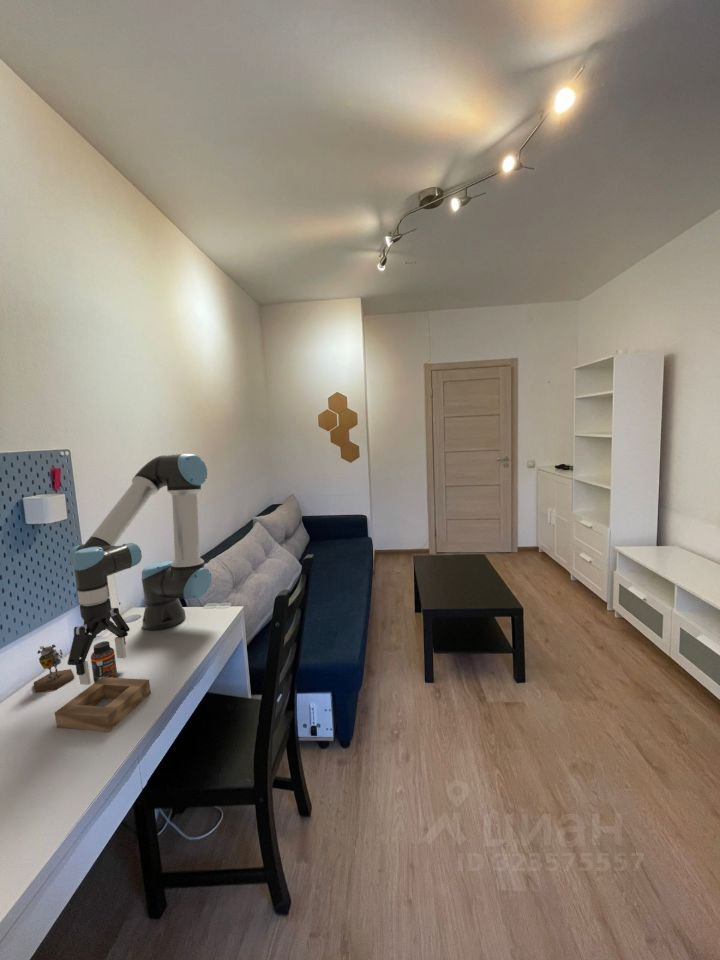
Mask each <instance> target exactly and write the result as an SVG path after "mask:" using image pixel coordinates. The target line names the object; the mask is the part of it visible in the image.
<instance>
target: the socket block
mask: <svg viewBox="0 0 720 960" xmlns="http://www.w3.org/2000/svg"><path fill="white" fill-rule="evenodd" d="M151 690H152V689H151V685H150V679H146V678H145V679H143V678H130V677H129V678H128V677H127V678H126V677H125V678H124V677H117V678H110V677H102V678H101V679H99V680H98V681H97V682H95V683H94V682H93V684H92V683H91V685H89V687H87V688H86V689H84V690H83V691H82V692H80V693H78V694H77V695H76V696H75V697H73V698H72V699H71V700H70V701H68V702H66V704H64V705H63V706H62V707H60V708H59V709H57V710H56V711H55V712H54V717H55V723H56V728H58V729H59V728H61V729H69V730H72V729H73V730H85V731H97V732H105V733H106V732H107V733H108V732H110V731H111V730H113V729H114V728H115V727H116V726H117V725H118V724H119V723H120V722H121V721H122V720H123V719H124V718H126V717H127V716H128V715H129V714H130V713H131V712H132V711H133V710H134V709H135V708H136V707H137V706H139V705H140V704H141V703H142V702H143V701H144V700H145V699H146V698H147V697H148V696H149V695H151V694H152V692H151ZM105 699H112V701H111V702H110V703H107V705H106V706H98V705H99V704H100V703H101V702H103V701H104V700H105ZM113 699H114V700H113Z"/></svg>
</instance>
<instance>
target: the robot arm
mask: <svg viewBox="0 0 720 960" xmlns="http://www.w3.org/2000/svg"><path fill="white" fill-rule="evenodd" d="M207 478H208V469H207V466H206V463H205V461H204V460H203V459H202V458H201V457H200V456H199V455H197V454H193V453H181V454H165V455H159V456H156V457H154V458H152V459H150V460H149V461H148V462H147V463H146V464H144V465H143V466H142V467H141V468H140V469H139V470H138V471H137V472H136V473H135V475H134V476H133V477H132V479H131V485H130V486H129V487H128V489H127V490H126V491H125V492H124V493H123V495H122V496H121V497H120V498H119V500H118V501H117V502H116V504H115V505H114V506H113V508H112V509H111V510H110V511H109V513H108V514H107V515H106V517H105V518H104V519H103V520H102V521H101V523H100V524H99V525H98V527H96V529H95V530H94V532H93V533H92V534H91V535H90V536H89V538H88V539H87V541H85V543H84V544H79V545H76V546H74V547H73V548H72V549H71V550H70V552H69V554H68V560H69V563H70V564H71V565H72V568H73V573H74V576H75V577H74V578H75V583H76V591H77V596H78V602H79V604H80V606H79V612H80V617H81V619H82V620H83V624H82V625H81V626H75V627H74V628H73V639H72V644H71V648H70V651H69V656H68V660H67V665H68V666H75V669H76V675H77V676H78V678H79V684H80V685H88V686H90V684H92V683H91V677H90V676H91V675H90V669H89V662H88V661H87V660H86V659H87V656H88V654H89V652H90V649H91V647H92V644H93V641H94V639H96V637H97V635H99V634H100V633H101V632H103V631H106V630H107V631H109V632H111V633H112V634H113V635H114V636H115V637H114V645H115V651H116V658H117V659H126V658H127V652H126V645H127V643H126V642H127V641H126V637H127V636H128V635H129V633H128V632H130V631H131V630H130V629H131V628H130V627H129V625H128V624H127V622H126V620H125V619H124V618H123V616H122V615H121V613H120V610H119V607H112V604H111V599H110V596H111V595H110V590H109V582H108V577H109V576H111V575H114V574H117V573H119V572H122V571H125V570H128V569H131V568H132V567H135V566H137V565H138V564H139V563H141V560H142V558H143V554H142V550H141V548H140V546H139V545H138V544H136V543H134V542H129V543H123V544H121V545H116V544H117V543H118V542H119V540H120V539H121V538H122V536H123V534H124V533H125V532H126V530H127V529H128V528H129V526H130V525H131V524H132V523H133V521H134V520H135V518H136V517H137V515H138V514H139V513H140V511H141V510H142V509H143V507H144V506H145V505H146V503H147V502H148V500H149V499H150V498H151V496H153V495H156V494H157V493H158V492H159V491H160V489H162V488H163V487H166V488H167V492H168V493H169V494H170V495H171V499H172V500H171V501H172V519H173V543H174V545H173V546H174V560H165V561H161V562H156V563H153V564H151V565H148V566H146V567H144V568H143V569H142V571H141V583H142V590H143V596H144V602H145V607H144V612H143V618H142V628H143V629H144V630H147V631H160V630H165V629H169V628H171V627H174V626H177V625H178V624H181V623H183V621H185V619H186V616H187V615H186V610H185V609H184V607H183V604H182V603H181V600H187V601H191V600H199V599H201V598H203V597H204V596H205V595H206V594H207V593H208V590H209V589H210V588H211V585H212V580H213V579H212V577H213V576H212V572H211V571H210V569H209V568H207V567H205V560H204V559H203V558H201V557H200V554H201V553H200V539H199V538H200V537H199V536H200V533H199V511H198V494H199V492H200V491H201V490H202V485H203V484H204V483H205V482H206V481H207V480H206V479H207Z"/></svg>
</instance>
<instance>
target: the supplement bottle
mask: <svg viewBox="0 0 720 960" xmlns="http://www.w3.org/2000/svg"><path fill="white" fill-rule="evenodd" d="M90 655H91V656H90V663H91V668H92V669H91V670H92V677H93V684H94V683H95V682H97V681H98V680H99V679H101V678H102V677H110V678H118V672H117V671H118V670H117V669H118V668H117V663H116V654H115V649H114V648H113V647H111V646H110V641H108V640H107V641H100V642H98V643H96V644H94V645H93V652H92V653H91V654H90Z"/></svg>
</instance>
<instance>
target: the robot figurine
mask: <svg viewBox="0 0 720 960" xmlns="http://www.w3.org/2000/svg"><path fill="white" fill-rule="evenodd" d="M54 648H56V645H55V644H52V645H49V646H44V645H40V646H39V650H37V655H39V654H40V655H41V656H40V657H39V658H38V661H39V663H40V666H41V667H42V668H43V669H44V670H45V669H46V670H47V669H48V670H49V673H47V674H46V675H44V676H42V677H41V678H39V679H37V680H35V681H33V687H34V692H35V694H37V693H38V694H39V693H43V692H49V691H50V692H51V691H54V690H58V689H59V688H61V687H63V686H65V685H66V684H68V683H70V682H71V681H73V680H74V679H75V675H74V673H73V671H72V669H71V668H70V669H63V670H58V668H57V667H58V665H60V664H61V662H62V661H61V659H62V658H63V650H62V649H59V652H58V650H57V649H54ZM53 667H54V669H55V671H52V668H53Z"/></svg>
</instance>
